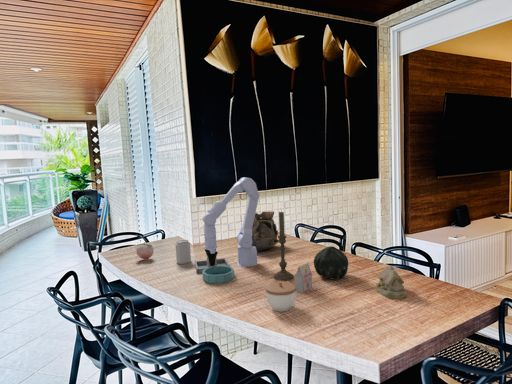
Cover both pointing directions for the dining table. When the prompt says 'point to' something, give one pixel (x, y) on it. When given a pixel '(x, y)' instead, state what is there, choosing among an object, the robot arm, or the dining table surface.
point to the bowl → (218, 274)
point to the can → (183, 252)
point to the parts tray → (203, 265)
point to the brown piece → (264, 231)
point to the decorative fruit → (145, 251)
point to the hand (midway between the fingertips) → (211, 264)
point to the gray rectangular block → (208, 262)
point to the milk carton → (303, 278)
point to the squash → (331, 263)
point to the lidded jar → (281, 295)
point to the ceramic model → (390, 284)
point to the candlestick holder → (282, 252)
